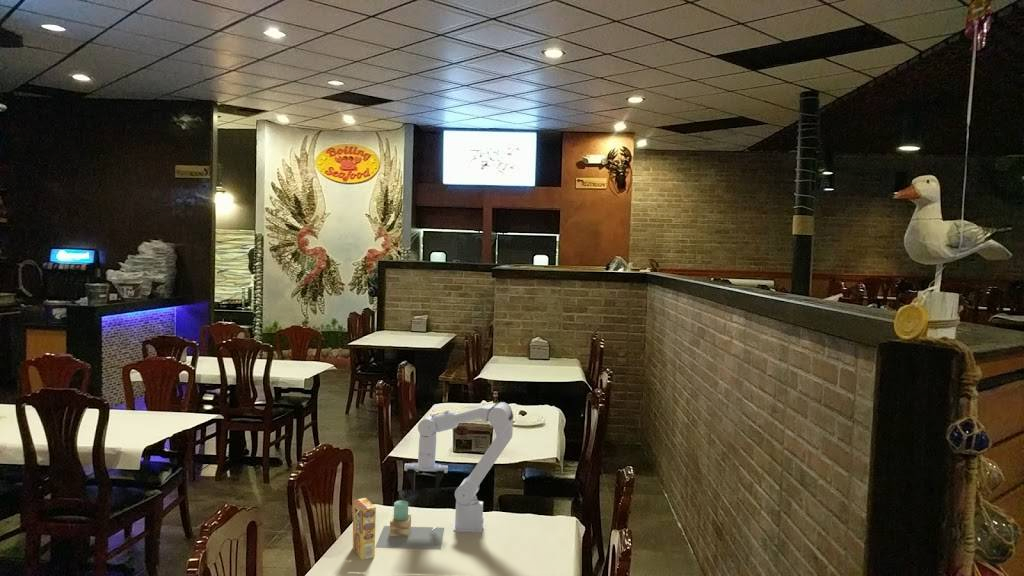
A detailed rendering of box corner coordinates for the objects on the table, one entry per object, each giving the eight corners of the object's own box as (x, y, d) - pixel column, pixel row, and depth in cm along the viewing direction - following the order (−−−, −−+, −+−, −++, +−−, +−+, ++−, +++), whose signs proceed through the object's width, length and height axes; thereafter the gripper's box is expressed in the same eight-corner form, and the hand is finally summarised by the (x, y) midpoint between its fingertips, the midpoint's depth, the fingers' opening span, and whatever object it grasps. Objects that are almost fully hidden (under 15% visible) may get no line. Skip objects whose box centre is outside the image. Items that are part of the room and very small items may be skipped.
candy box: (375, 557, 189) (377, 507, 188) (361, 561, 186) (363, 509, 186) (364, 546, 196) (366, 497, 195) (351, 549, 194) (352, 499, 193)
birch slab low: (410, 528, 209) (411, 521, 209) (408, 536, 203) (408, 529, 203) (392, 528, 209) (392, 521, 209) (389, 535, 203) (389, 528, 203)
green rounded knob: (408, 515, 208) (409, 500, 208) (407, 521, 204) (407, 506, 204) (394, 515, 208) (395, 500, 208) (392, 521, 204) (393, 505, 203)
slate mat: (444, 528, 211) (444, 527, 211) (440, 550, 195) (440, 549, 195) (384, 526, 211) (384, 525, 211) (375, 548, 195) (375, 547, 195)
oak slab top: (411, 521, 209) (411, 514, 209) (408, 529, 203) (408, 522, 203) (392, 521, 209) (393, 514, 209) (389, 528, 203) (390, 521, 203)
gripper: (403, 454, 210) (401, 495, 211) (447, 457, 211) (445, 497, 211) (406, 448, 217) (404, 487, 218) (449, 450, 218) (446, 489, 219)
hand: (424, 492), depth 215 cm, fingers open, 7 cm apart
